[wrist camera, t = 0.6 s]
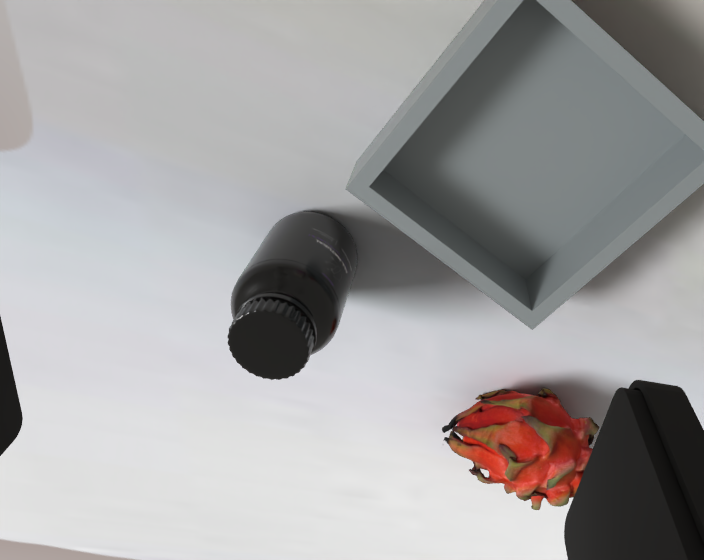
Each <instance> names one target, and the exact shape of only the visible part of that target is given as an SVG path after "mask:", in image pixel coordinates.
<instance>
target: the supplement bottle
mask: <svg viewBox="0 0 704 560" xmlns="http://www.w3.org/2000/svg"><path fill="white" fill-rule="evenodd" d="M356 267H357V250H356V247H355V244H354V241H353V239H352V237H351V236H350V234H349V233H348V231H347V230H346V229H345V228H344V227H343V226H342V225H341V224H340V223H339V222H337V221H336V220H334V219H333V218H331V217H329V216H326V215H324V214H320V213H316V212H298V213H294V214H291V215H288V216H286V217H284V218H283V219H281V220H280V221H279V222H278V223H276V224H275V226H274V227H273V228H272V229H271V230H270V232H269V233H268V235H267V236H266V238H265V239H264V241H263V242H262V244H261V245H260V247H259V248H258V250H257V251H256V253H255V254H254V256H253V258H252V259H251V261H250V262H249V264H248V265H247V267H246V268H245V270H244V271H243V273H242V274H241V276H240V278H239V279H238V281H237V283H236V285H235V287H234V289H233V292H232V297H231V312H232V316H233V322H232V324H231V326H230V328H229V334H228V339H229V340H228V345H229V346H230V351H231V352H232V355H233V357H234V358H235V359H236V361H237V363H239V364H240V365H241V366H242V368H244V369H246V370H247V371H248V372H249V373H253V374H254V375H256V376H260V377H262V378H268V379H271V380H272V379H278V380H280V379H282V378H288V377H289V376H294V375H295V373H299V372H300V370H301V369H302V368H304V367H305V365H306V363H307V362H308V360H309V357H310V355H312V354H314V353H316V352H318V351H320V350H321V349H323V348H324V347H325V346H326V345H327V344H328V343H329V342H330V341H331V339H332V338H333V336H334V334H335V333H336V330H337V328H338V325H339V322H340V319H341V316H342V313H343V310H344V307H345V303H346V300H347V297H348V294H349V291H350V288H351V285H352V281H353V278H354V275H355V271H356Z"/></svg>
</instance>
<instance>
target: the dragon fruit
mask: <svg viewBox="0 0 704 560" xmlns="http://www.w3.org/2000/svg"><path fill="white" fill-rule="evenodd" d="M538 395H539V396H540V397H538V396H535V395H530V394H522V393H518V392H515V391H507V392H505V390H498V391H495V392H490V393H487V394H483V395H479V396H478V397H477V398H476V399H481V401H479V402H477V403H476V404H475V405H473V406H472V407H471V408H469V409H468V410H466V411H464V412H461V413H459V414H458V415H456V416H455V417H454V418H453V419H452V420H451V422H450V423H449V425H447V426H444V427H443V428H442V431H443V432H444V433H445V432H446V431H449V430H450V429H452V428H453V429H452V430H453V431H451V433H450V436H449V438H447V437H445V439H444V440H445V442H446V441H447V443H448V444H449V446H450V447H451V449H452V450H453V451H454V452H455V453H457V454H458V455H460V456H462V457H464V458H467V459H469V460H471V461H473V463H474V467H473V468H472V470H471V469H469V471H470V472H471V473H472V474H473V475H476V476H477V478H478V480H479V481H481V482H483V483H487V484H490V483H503V484H505V485H504V489H505V491H506V493H507V494H509V493H512V492H516V496H517V497H518V498H519V499H520V500H524V501H526V500H529V499H531V501H532V506H531V507H532V509H534V510H539V509H540V506H541V501H542V499H543V498H544V497H545V498H546V499H547V501H548V502H549V503H550V504H551V505H552V506H564V505H567V503H568V501H569V498H571V497H574V496H575V493H576V491H577V488H578V486H579V483H580V481H581V478H582V476H583V473H584V470H585V468H586V465H587V463H588V460H589V458H590V455H591V453H592V450H593V449H592V448H590V447H589V445H590V444H592V442H593V439H594V434H596V432H597V431H598V429H599V426H598V425H597V424H595V423H594V421H593V420H592V419H591V418H590V417H589V418H579V419H573V418H571V417H570V416H569V414H568V413H567V412H566V411H565V409H564V408H563V407H562V405H561V404H560V400H559V399H558V397H557V396H556V395H555V394H553V393H552V391H551V390H549V389H546V388H543V389H542V390H541V391H540V392H539V393H538ZM456 424H457V426H455V425H456ZM454 426H455V427H454ZM455 432H457V433H459V434H460V435H462V436H463V439H462V440H461V438H460V437H459V436H458V435H457V434H456V433H455ZM480 468H481V469H485V470H488V471H489V477H488V478H487V477H484V475H483V474H482V473H481V471H480Z"/></svg>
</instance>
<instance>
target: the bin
mask: <svg viewBox="0 0 704 560" xmlns="http://www.w3.org/2000/svg"><path fill="white" fill-rule="evenodd" d="M703 184H704V121H703V120H702V119H701V118H700V117H699V116H697V115H696V114H695V113H694V112H693V111H692V110H691V109H690V108H689V107H688V106H686V105H685V104H684V103H683V102H682V101H681V100H680V99H679V98H678V97H677V96H675V95H674V94H673V93H672V92H671V91H670V90H669V89H668V88H667V87H666V86H664V85H663V84H662V83H661V82H660V81H659V80H658V79H657V78H656V77H655V76H654V75H652V74H651V73H650V72H649V71H648V70H647V69H646V68H645V67H644V66H643V65H641V64H640V63H639V62H638V61H637V60H636V59H635V58H634V57H633V56H632V55H630V54H629V53H628V52H627V51H626V50H625V49H624V48H623V47H622V46H621V45H620V44H618V43H617V42H616V41H615V40H614V39H613V38H612V37H611V36H610V35H609V34H607V33H606V32H605V31H604V30H603V29H602V28H601V27H600V26H599V25H598V24H596V23H595V22H594V21H593V20H592V19H591V18H590V17H589V16H588V15H587V14H585V13H584V12H583V11H582V10H581V9H580V8H579V7H578V6H577V5H576V4H575V3H573V2H572V1H571V0H485V1H484V2H483V3H482V4H481V6H480V7H479V8H478V9H477V11H476V12H475V13H474V14H473V16H472V17H471V18H470V19H469V21H468V22H467V23H466V24H465V26H464V27H463V28H462V30H461V31H460V32H459V33H458V35H457V36H456V37H455V38H454V40H453V41H452V42H451V43H450V45H449V46H448V47H447V48H446V50H445V51H444V52H443V53H442V55H441V56H440V57H439V58H438V60H437V61H436V62H435V64H434V65H433V66H432V67H431V69H430V70H429V71H428V72H427V74H426V75H425V76H424V77H423V79H422V80H421V81H420V82H419V84H418V85H417V86H416V87H415V89H414V90H413V91H412V92H411V94H410V95H409V96H408V98H407V99H406V100H405V101H404V103H403V104H402V105H401V106H400V108H399V109H398V110H397V111H396V113H395V114H394V115H393V116H392V118H391V119H390V120H389V121H388V123H387V124H386V125H385V126H384V128H383V129H382V130H381V132H380V133H379V134H378V135H377V137H376V138H375V139H374V140H373V142H372V143H371V144H370V145H369V147H368V148H367V149H366V150H365V152H364V153H363V154H362V155H361V157H360V158H359V159H358V161H357V162H356V164H355V167H354V169H353V172H352V174H351V177H350V179H349V182H348V184H347V187H346V190H348V191H349V192H350V193H352V194H353V195H354V196H355V197H357V198H358V199H359V200H361V201H362V202H363V203H365V204H366V205H367V206H369V207H370V208H371V209H373V210H374V211H375V212H377V213H378V214H379V215H381V216H382V217H383V218H385V219H386V220H387V221H389V222H390V223H391V224H393V225H394V226H395V227H397V228H398V229H399V230H401V231H402V232H403V233H405V234H406V235H407V236H409V237H410V238H411V239H412V240H414V241H415V242H416V243H418V244H419V245H420V246H422V247H423V248H424V249H426V250H427V251H428V252H430V253H431V254H432V255H434V256H435V257H436V258H438V259H439V260H440V261H442V262H443V263H444V264H446V265H447V266H448V267H450V268H451V269H452V270H454V271H455V272H456V273H458V274H459V275H460V276H462V277H463V278H464V279H466V280H467V281H468V282H470V283H471V284H472V285H473V286H475V287H476V288H477V289H479V290H480V291H481V292H483V293H484V294H485V295H487V296H488V297H489V298H491V299H492V300H493V301H495V302H496V303H497V304H499V305H500V306H501V307H503V308H504V309H505V310H507V311H508V312H509V313H511V314H512V315H513V316H515V317H516V318H517V319H519V320H520V321H521V322H523V323H524V324H525V325H527V326H528V327H529V328H531V329H532V330H533V329H534V328H535V327H536V326H537V325H539V324H540V323H541V322H542V321H543V320H545V319H546V318H547V317H548V316H549V315H550V314H552V313H553V312H554V311H555V310H556V309H557V308H559V307H560V306H561V305H562V304H563V303H564V302H566V301H567V300H568V299H569V298H570V297H571V296H573V295H574V294H575V293H576V292H577V291H579V290H580V289H581V288H582V287H583V286H584V285H586V284H587V283H588V282H589V281H590V280H591V279H593V278H594V277H595V276H596V275H597V274H598V273H600V272H601V271H602V270H603V269H604V268H606V267H607V266H608V265H609V264H610V263H611V262H613V261H614V260H615V259H616V258H617V257H618V256H620V255H621V254H622V253H623V252H624V251H625V250H627V249H628V248H629V247H630V246H631V245H632V244H634V243H635V242H636V241H637V240H638V239H640V238H641V237H642V236H643V235H644V234H645V233H647V232H648V231H649V230H650V229H651V228H652V227H654V226H655V225H656V224H657V223H658V222H659V221H661V220H662V219H663V218H664V217H665V216H667V215H668V214H669V213H670V212H671V211H672V210H674V209H675V208H676V207H677V206H678V205H679V204H681V203H682V202H683V201H684V200H685V199H686V198H688V197H689V196H690V195H691V194H692V193H693V192H695V191H696V190H697V189H698V188H699V187H701V186H702V185H703Z"/></svg>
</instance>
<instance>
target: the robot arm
mask: <svg viewBox="0 0 704 560" xmlns="http://www.w3.org/2000/svg"><path fill="white" fill-rule="evenodd" d="M21 425H22V412H21V407H20V403H19V398H18V394H17V389H16V385H15V380H14V376H13V371H12V367H11V362H10V358H9V353H8V349H7V344H6V340H5V335H4V331H3V326H2V322H1V317H0V456H1V455H2V453H3V452H4V451H5V450H6V449H7V448H8V447H9V445H10V444H11V443H12V442H13V441H14V440H15V438H16V437H17V435H18V433H19V431H20V429H21ZM564 538H565V545H566V551H567V556H568V560H704V430H703V428H702V426H701V424H700V422H699V420H698V418H697V416H696V414H695V412H694V410H693V408H692V406H691V404H690V402H689V400H688V398H687V396H686V394H685V392H684V391H683V390H682V388H680V387H678V386H673V385H666V384H660V383H654V382H648V381H642V380H636V381H634V382H633V383H632V384H631V385H630V387H629V389H627V388H619V389H618V390H617V391H616V393H615V395H614V397H613V399H612V402H611V404H610V407H609V409H608V412H607V415H606V417H605V420H604V422H603V425H602V427H601V430H600V432H599V435H598V437H597V440H596V442H595V445H594V448H593V450H592V453H591V455H590V458H589V460H588V463H587V465H586V468H585V470H584V473H583V476H582V478H581V481H580V483H579V486H578V488H577V491H576V493H575V496H574V498H573V501H572V503H571V506H570V509H569V511H568V514H567V517H566V521H565V530H564Z"/></svg>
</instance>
